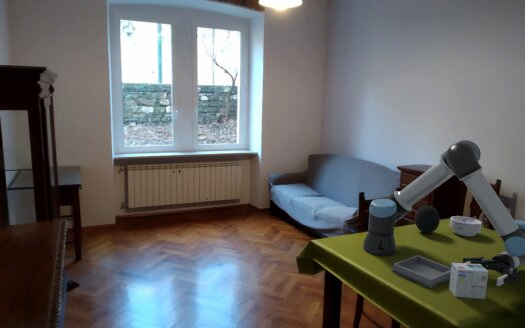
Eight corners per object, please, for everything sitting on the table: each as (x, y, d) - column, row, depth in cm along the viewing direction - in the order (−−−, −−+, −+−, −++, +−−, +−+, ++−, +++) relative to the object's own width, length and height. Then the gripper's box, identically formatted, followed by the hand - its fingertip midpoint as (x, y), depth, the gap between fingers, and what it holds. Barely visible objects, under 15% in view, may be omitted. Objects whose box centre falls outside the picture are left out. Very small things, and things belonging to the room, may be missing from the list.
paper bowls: (475, 230, 215) (477, 216, 214) (484, 240, 201) (486, 225, 199) (445, 227, 219) (447, 214, 217) (452, 237, 204) (454, 222, 203)
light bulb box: (477, 290, 146) (480, 263, 144) (485, 299, 139) (489, 271, 138) (447, 288, 147) (450, 261, 145) (454, 297, 140) (458, 269, 139)
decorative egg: (443, 235, 206) (446, 207, 204) (425, 237, 202) (427, 209, 199) (426, 227, 218) (428, 201, 215) (408, 229, 213) (410, 203, 211)
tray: (392, 271, 160) (393, 263, 159) (416, 262, 170) (417, 255, 169) (430, 288, 146) (431, 279, 146) (454, 277, 156) (455, 269, 155)
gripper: (538, 283, 148) (513, 298, 136) (472, 260, 168) (445, 272, 156) (541, 265, 147) (516, 278, 135) (474, 244, 167) (447, 254, 155)
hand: (478, 275), depth 145 cm, fingers open, 13 cm apart
